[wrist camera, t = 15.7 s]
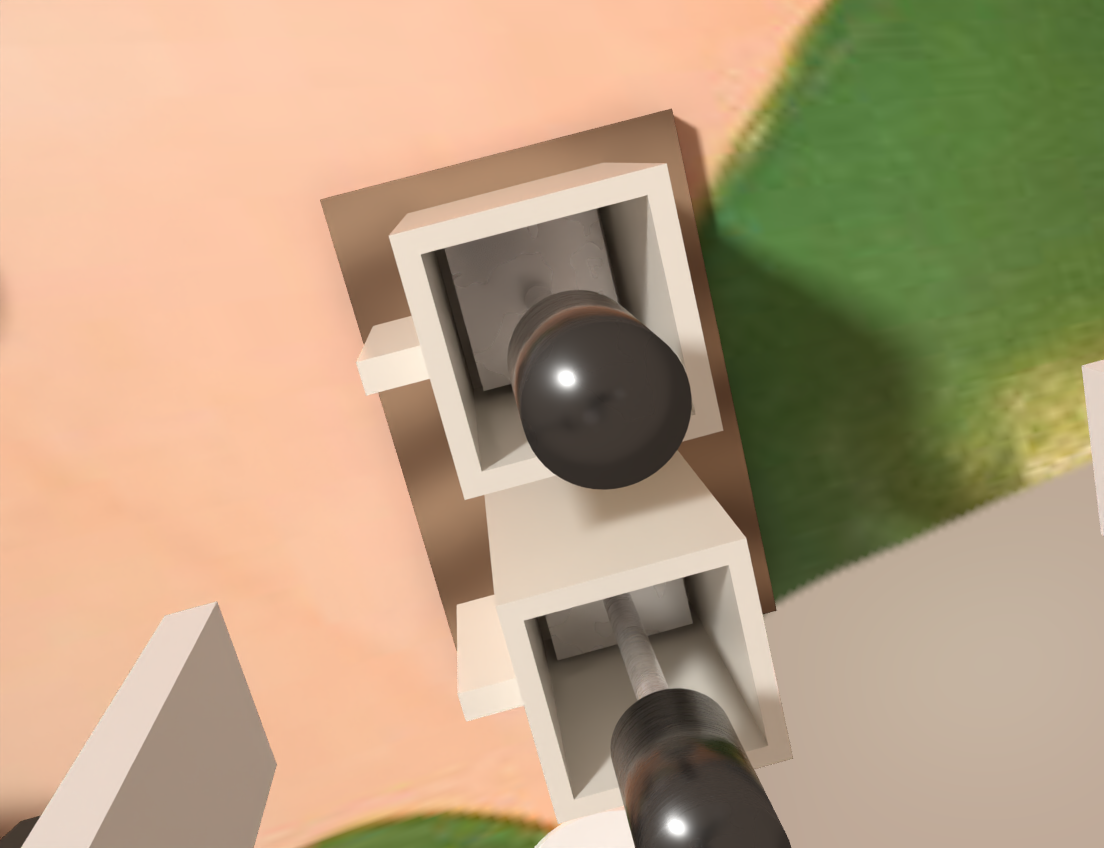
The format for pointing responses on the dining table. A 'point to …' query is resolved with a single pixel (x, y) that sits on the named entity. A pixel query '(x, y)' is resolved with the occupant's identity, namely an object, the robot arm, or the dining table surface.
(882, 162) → the dining table surface
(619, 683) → the square cup with tab
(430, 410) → the walnut board
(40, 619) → the dining table surface
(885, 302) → the dining table surface
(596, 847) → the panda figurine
